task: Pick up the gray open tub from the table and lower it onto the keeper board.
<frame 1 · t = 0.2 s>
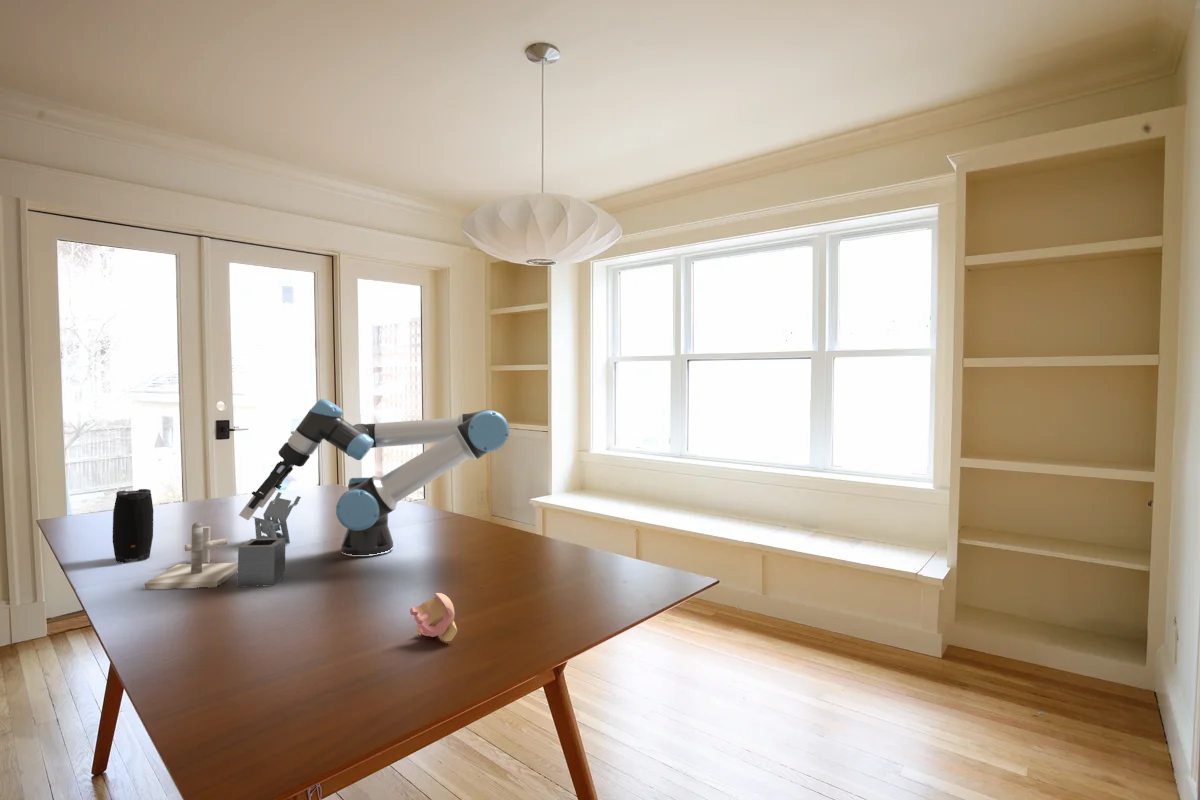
hand: (251, 511, 164), 16 cm above the table, tool tilted 35°, fingers open, 13 cm apart
pipe connector: (206, 562, 167), on the table
bracket: (273, 543, 190), on the table
keeper board: (196, 578, 153), on the table
portable speaker: (132, 559, 168), on the table
gray open tub: (261, 580, 153), on the table
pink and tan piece: (436, 639, 121), on the table
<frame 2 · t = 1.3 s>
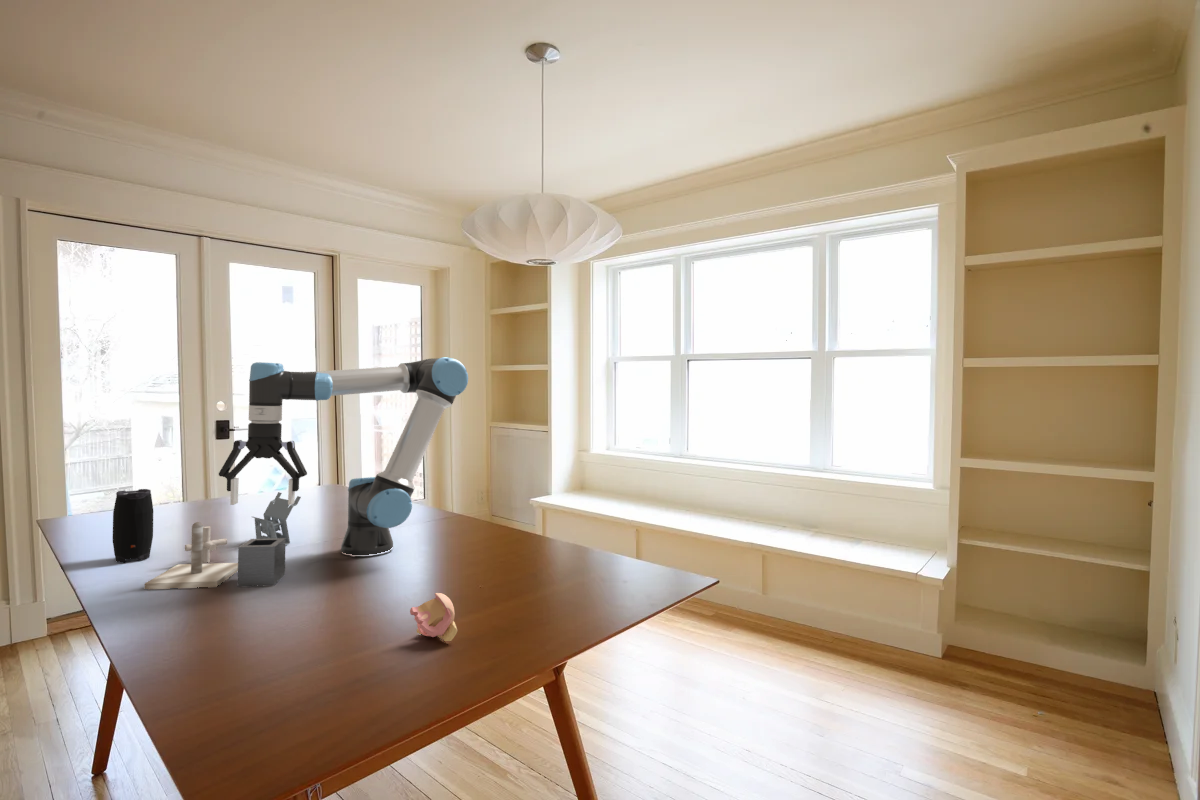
hand: (262, 504, 152), 20 cm above the table, tool pointing down, fingers open, 13 cm apart
nothing on the table moved.
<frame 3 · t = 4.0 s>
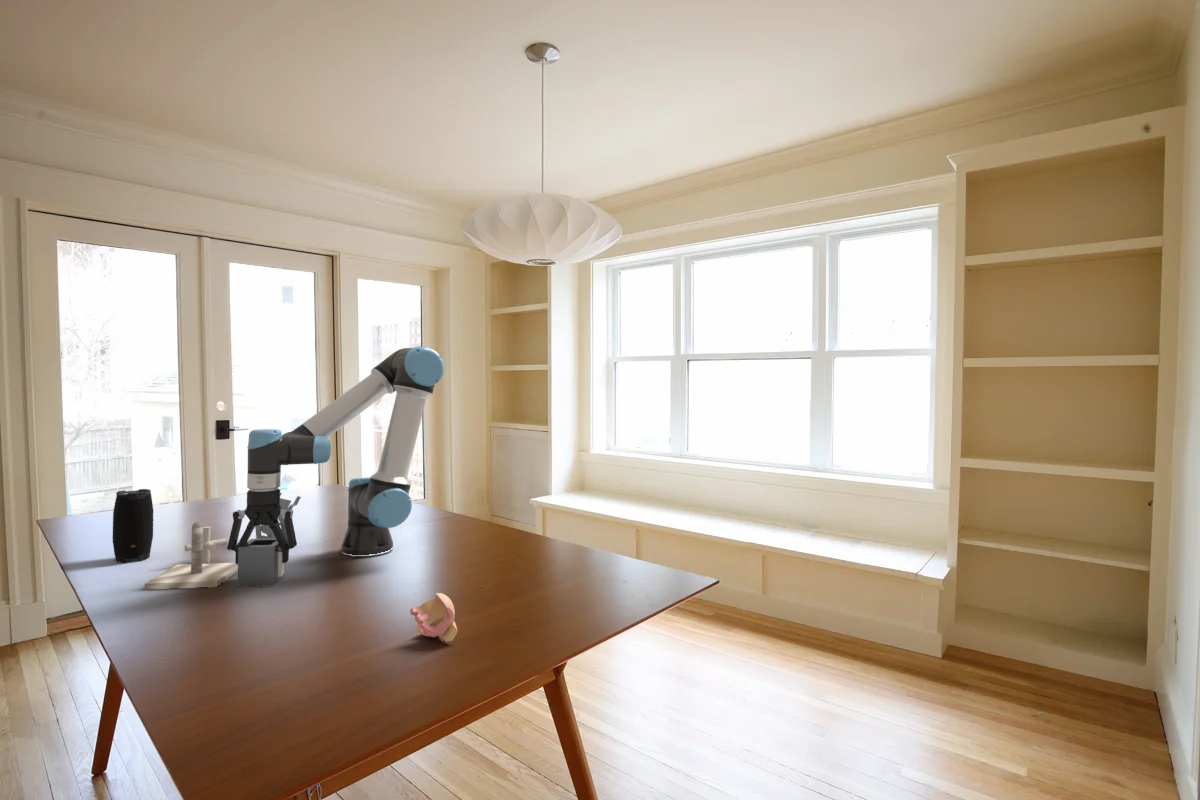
hand: (262, 575, 153), 1 cm above the table, tool pointing down, fingers closed on gray open tub, 8 cm apart
gray open tub: (261, 580, 153), on the table, touching gripper
everything else where it was.
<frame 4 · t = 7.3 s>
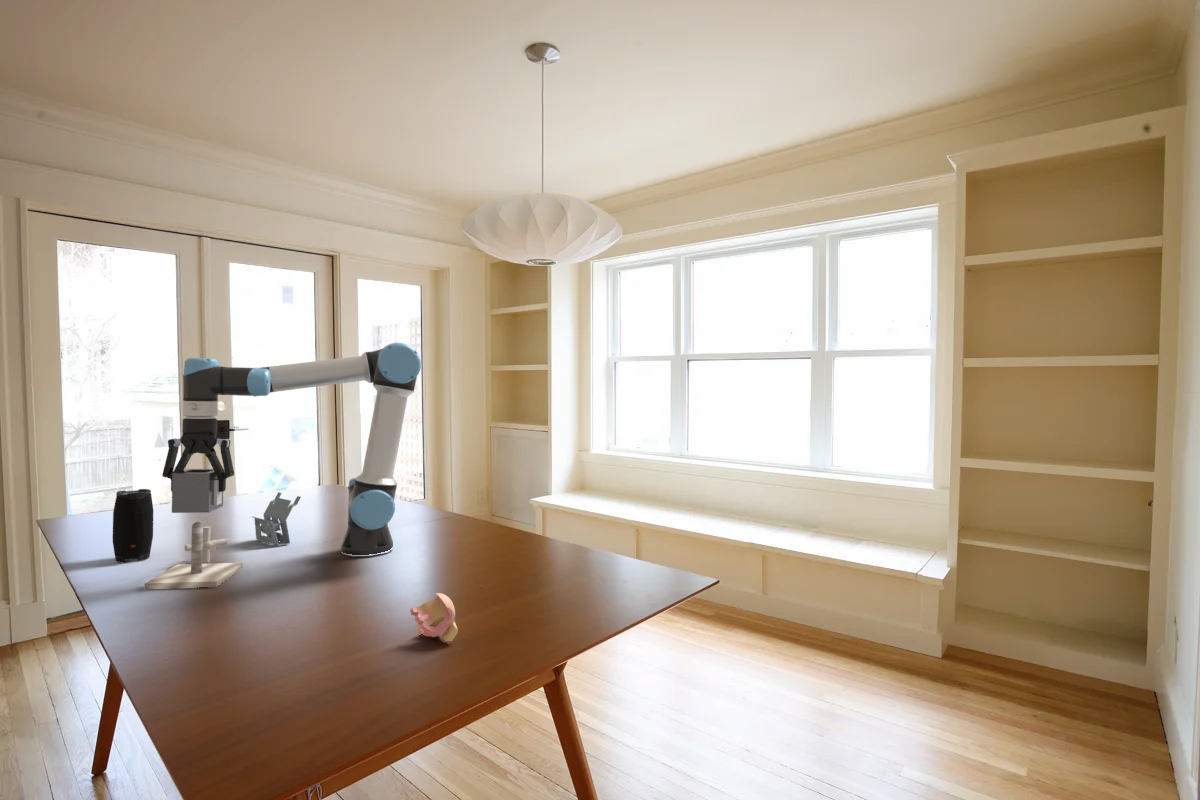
hand: (198, 504, 153), 19 cm above the table, tool pointing down, fingers closed on gray open tub, 8 cm apart
gray open tub: (198, 509, 153), point 18 cm above the table, touching gripper
everything else where it was.
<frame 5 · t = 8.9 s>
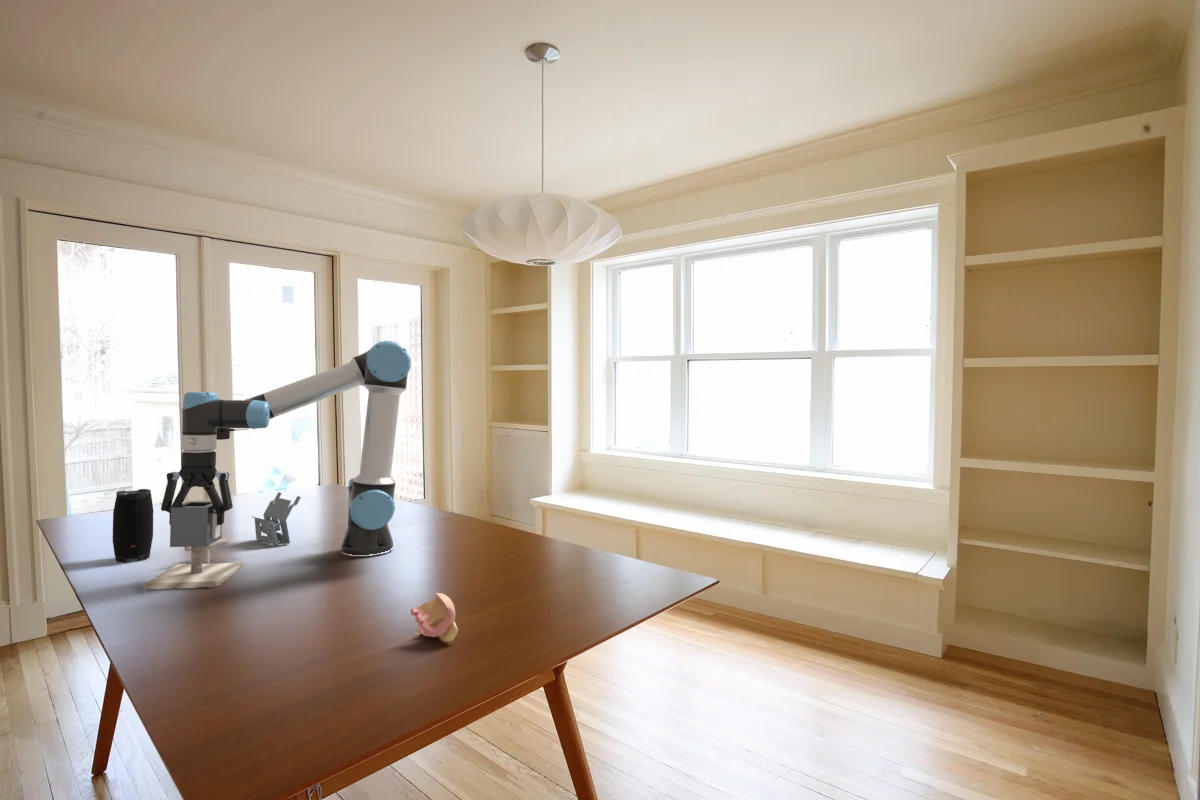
hand: (196, 537, 153), 11 cm above the table, tool pointing down, fingers closed on gray open tub, 8 cm apart
gray open tub: (196, 542, 153), point 9 cm above the table, touching gripper
everything else where it was.
when the fingers open (5 cm above the table, at t = 10.9 s): gray open tub drops 2 cm, resting on keeper board.
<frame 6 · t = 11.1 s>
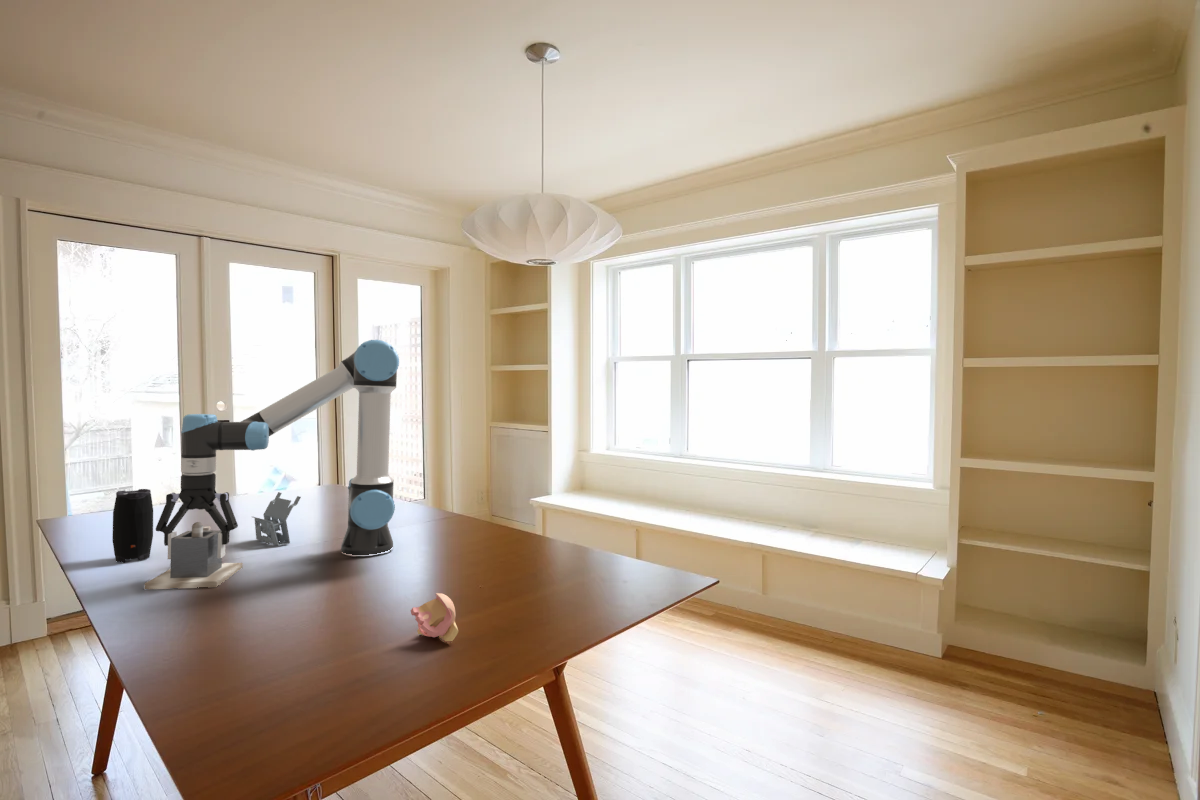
hand: (196, 557, 153), 5 cm above the table, tool pointing down, fingers open, 11 cm apart
gray open tub: (196, 572, 153), point 1 cm above the table, touching keeper board
everything else where it was.
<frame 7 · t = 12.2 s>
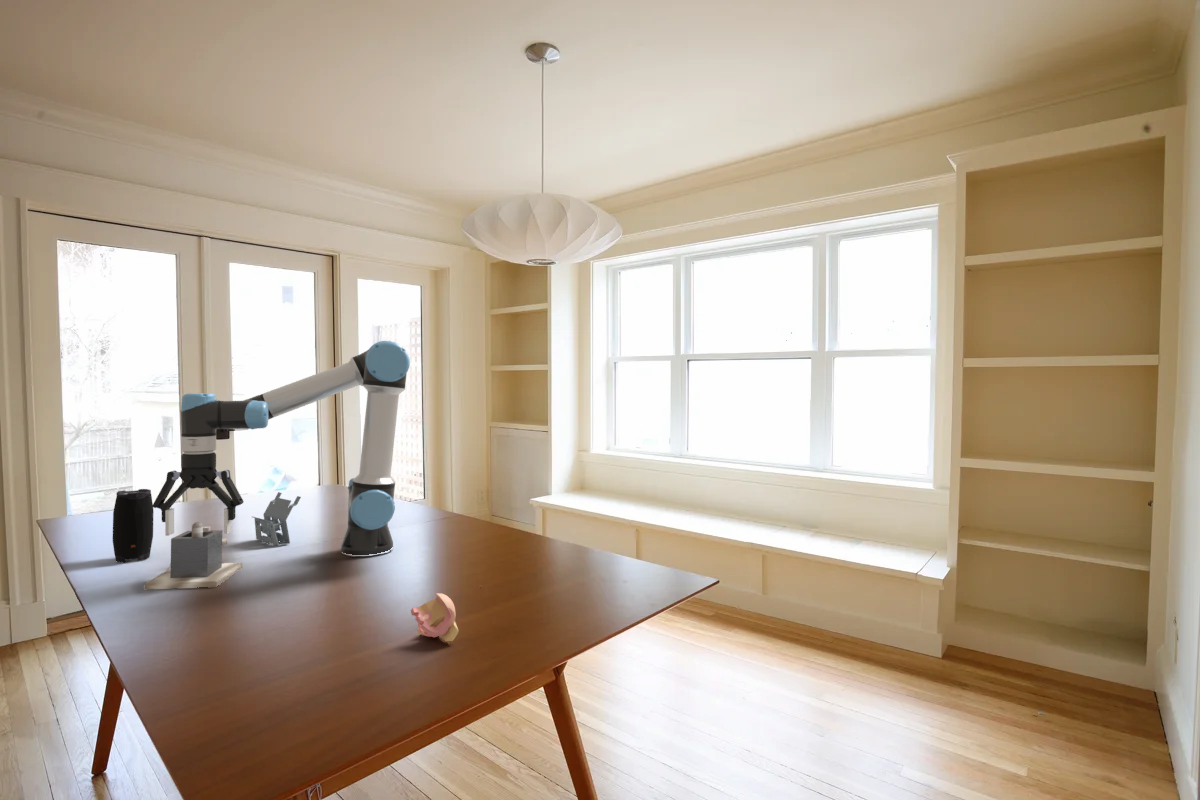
hand: (199, 533, 153), 12 cm above the table, tool pointing down, fingers open, 13 cm apart
nothing on the table moved.
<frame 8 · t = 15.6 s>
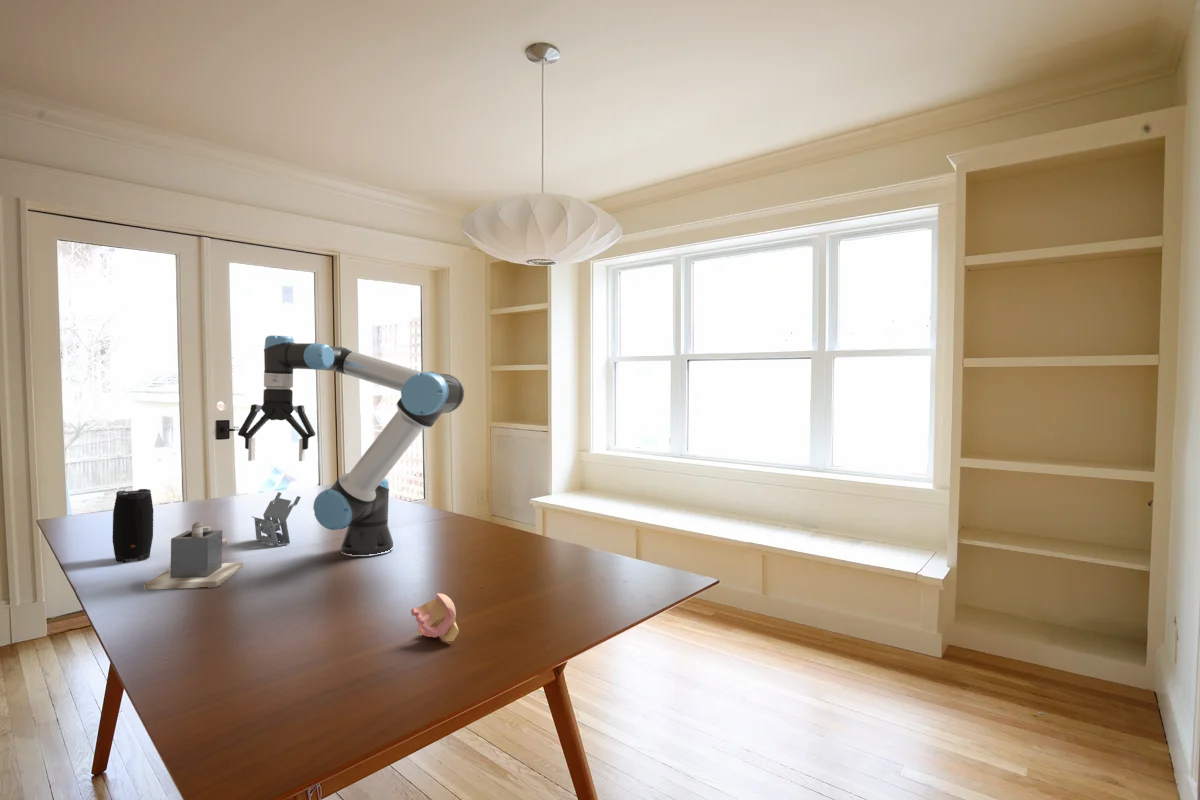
hand: (276, 460, 173), 29 cm above the table, tool pointing down, fingers open, 13 cm apart
nothing on the table moved.
at the end: gray open tub 0.1 cm off-centre on the keeper board, point 1.5 cm above the keeper board's base; gray open tub tilted 0°; the gripper is holding nothing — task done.
